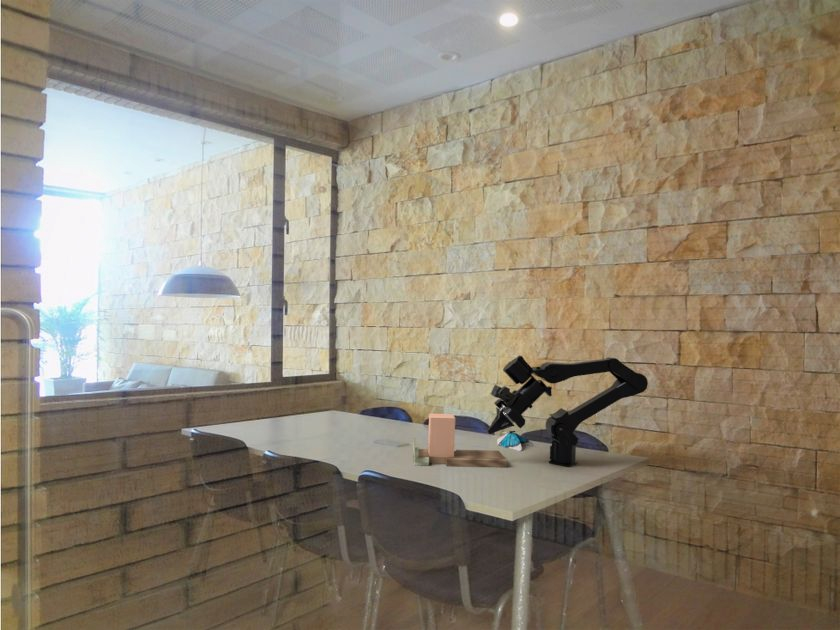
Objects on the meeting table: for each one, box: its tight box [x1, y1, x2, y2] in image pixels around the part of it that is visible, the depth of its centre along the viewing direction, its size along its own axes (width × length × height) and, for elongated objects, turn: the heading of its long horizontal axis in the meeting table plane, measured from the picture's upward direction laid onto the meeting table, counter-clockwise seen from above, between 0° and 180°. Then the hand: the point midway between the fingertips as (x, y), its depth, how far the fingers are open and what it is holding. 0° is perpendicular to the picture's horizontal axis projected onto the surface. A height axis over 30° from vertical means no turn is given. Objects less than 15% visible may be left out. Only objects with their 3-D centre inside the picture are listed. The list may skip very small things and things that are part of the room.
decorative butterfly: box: [496, 430, 535, 452], centre depth 191 cm, size 10×6×10 cm
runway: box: [412, 438, 508, 468], centre depth 168 cm, size 26×12×5 cm, turn 93°
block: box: [427, 413, 456, 457], centre depth 168 cm, size 7×7×11 cm
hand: (488, 432), depth 168 cm, fingers closed
